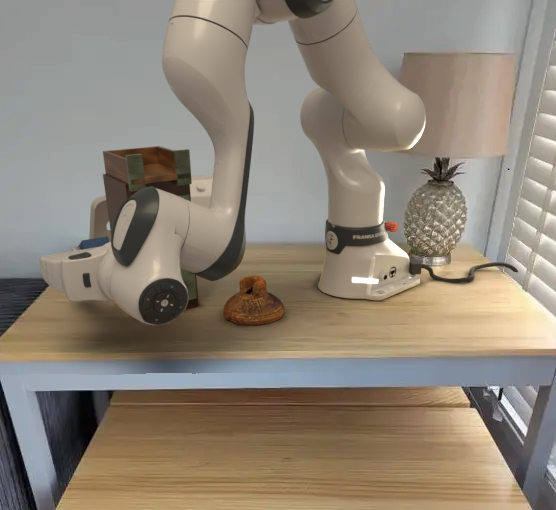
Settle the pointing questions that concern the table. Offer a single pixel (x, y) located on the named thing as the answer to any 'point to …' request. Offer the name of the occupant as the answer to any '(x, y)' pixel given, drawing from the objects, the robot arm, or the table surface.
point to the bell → (253, 303)
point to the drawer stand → (148, 184)
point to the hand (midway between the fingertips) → (92, 249)
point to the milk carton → (201, 189)
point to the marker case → (93, 242)
